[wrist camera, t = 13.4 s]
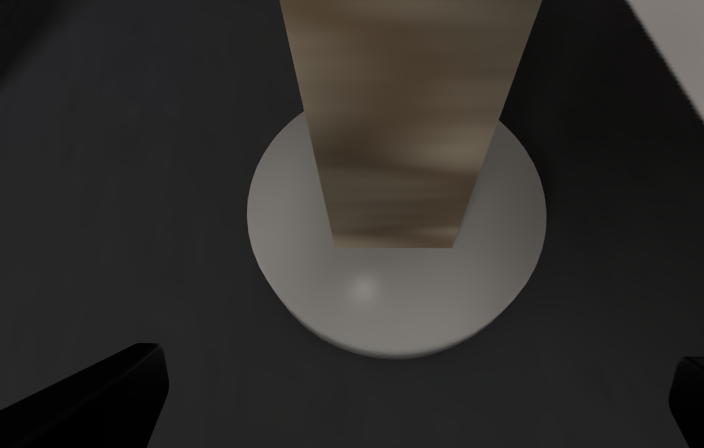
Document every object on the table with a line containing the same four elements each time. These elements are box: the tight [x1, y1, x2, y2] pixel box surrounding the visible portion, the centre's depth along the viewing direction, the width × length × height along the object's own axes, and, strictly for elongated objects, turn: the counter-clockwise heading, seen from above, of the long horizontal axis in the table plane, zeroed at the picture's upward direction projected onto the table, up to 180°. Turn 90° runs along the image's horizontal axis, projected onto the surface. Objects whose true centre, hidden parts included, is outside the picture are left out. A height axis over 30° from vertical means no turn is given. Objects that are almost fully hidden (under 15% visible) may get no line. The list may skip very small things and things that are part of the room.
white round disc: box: [247, 112, 546, 360], centre depth 20 cm, size 12×12×2 cm
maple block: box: [280, 0, 542, 248], centre depth 13 cm, size 4×4×12 cm
